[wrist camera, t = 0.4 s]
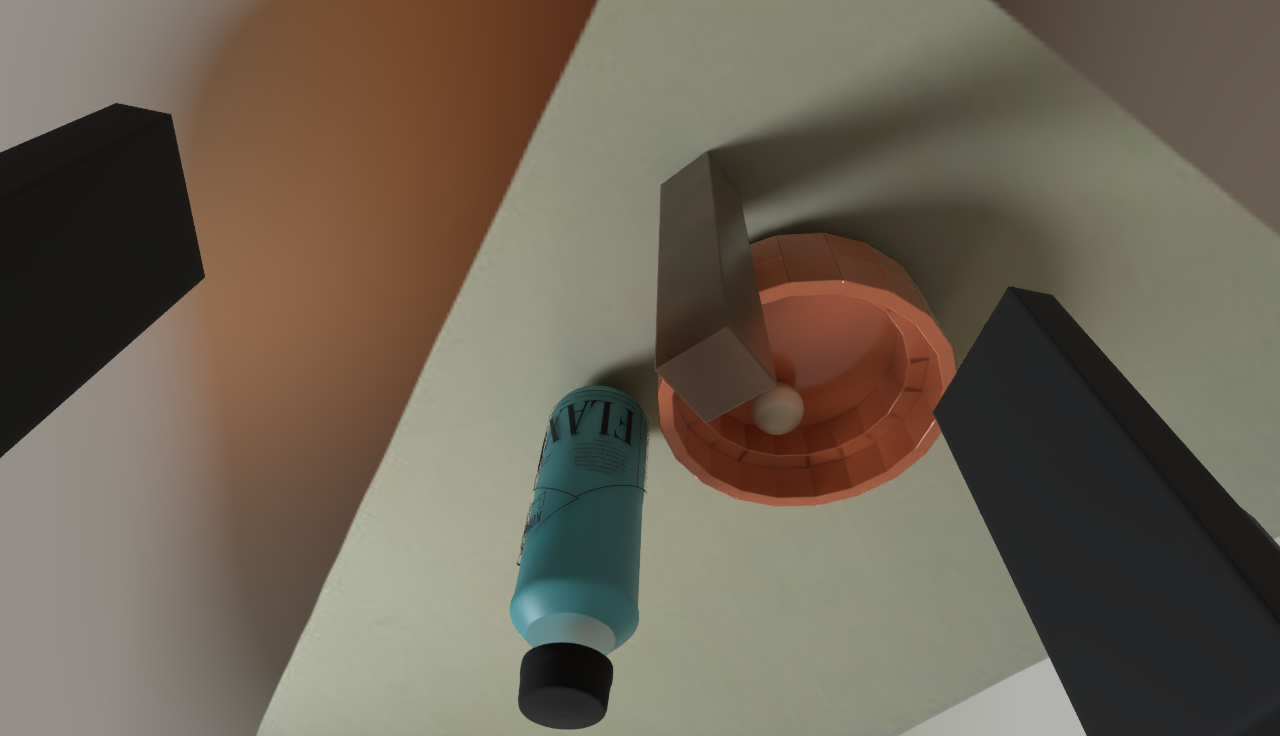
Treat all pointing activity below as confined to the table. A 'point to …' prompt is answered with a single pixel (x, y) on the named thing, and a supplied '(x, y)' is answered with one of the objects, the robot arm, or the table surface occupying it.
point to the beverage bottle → (581, 557)
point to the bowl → (826, 379)
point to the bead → (777, 409)
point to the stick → (708, 295)
